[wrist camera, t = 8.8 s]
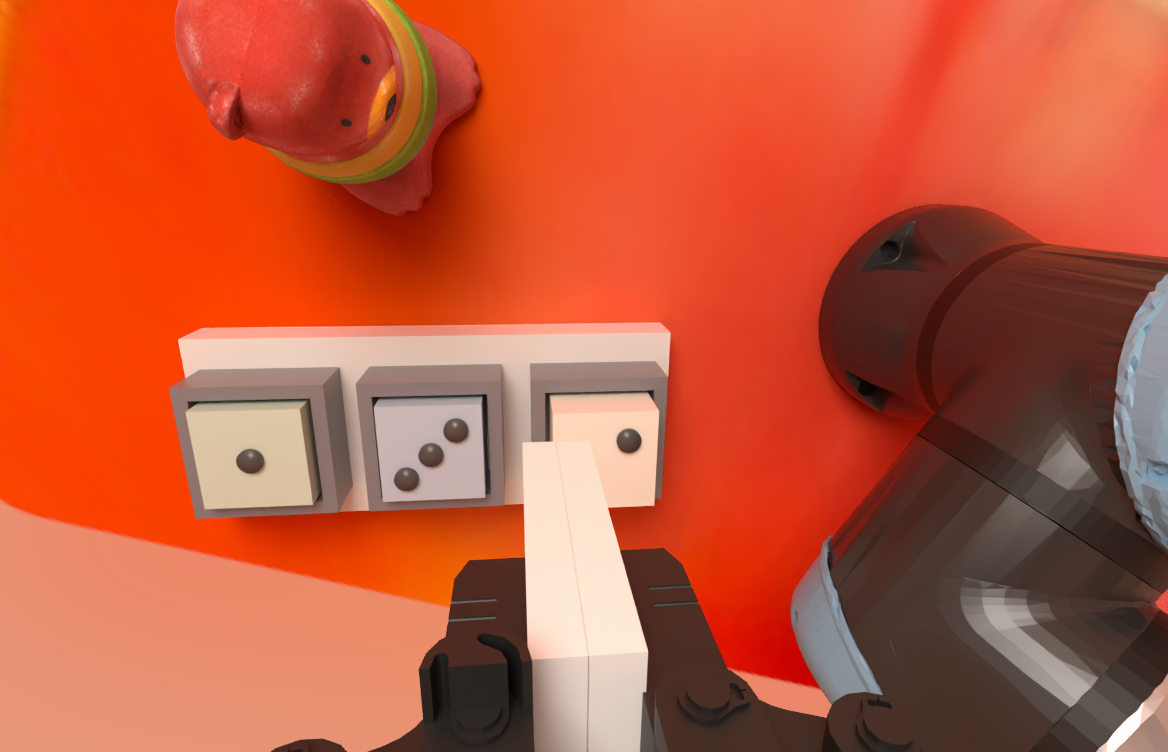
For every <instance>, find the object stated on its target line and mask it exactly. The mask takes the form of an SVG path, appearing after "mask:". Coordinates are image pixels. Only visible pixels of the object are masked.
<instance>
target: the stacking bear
mask: <svg viewBox="0 0 1168 752" xmlns="http://www.w3.org/2000/svg"><path fill="white" fill-rule="evenodd" d="M175 40H176V47H177V52H178V56H179V60H180V62H181V65H182V68H183V70H184V72H185V75H186V77H187V79H188V81H189V83H190V84H191V86H192V88H193V90H194V92H195V93H196V94H197V96H198V97H199V99H200V100H201V101H202V103H203V104H204V105H205V107H206V108H207V109H208V116H209V119H210V121H211V123H212V125H213V126H214V127H215V128H216V129H217V130H218V131H219V132H220V133H221V134H222V135H223V136H225V137H226V138H228V139H231V140H237V139H239V138H241V137H244V138H246V139H248V140H250V141H253V142H255V143H258V144H260V145H262V146H263V147H264V148H266V149H267V150H268V151H269V152H271V153H272V154H273V155H274V156H276V157H277V158H278V159H280V160H281V161H283V162H284V163H286V164H287V165H289V166H290V167H292V168H294V169H296V170H298V171H300V172H302V173H304V174H306V175H309V176H311V177H314V178H317V179H320V180H324V181H328V182H333V183H338V184H339V185H341V186H342V187H343V188H344V189H346V190H347V191H348V192H350V193H351V194H352V195H354V196H355V197H357V198H358V199H360V200H361V201H363V202H365V203H366V204H368V205H370V206H372V207H374V208H376V209H378V210H380V211H382V212H384V213H387V214H390V215H394V216H402V215H404V214H405V213H406V212H407V211H412V212H416V211H418V210H420V209H421V207H422V206H423V201H424V199H425V198H427V197H428V196H430V194H431V191H432V187H433V181H432V171H431V161H432V154H433V149H434V146H435V143H436V141H437V139H438V137H439V136H440V134H441V133H442V131H443V130H444V129H445V127H446V126H447V125H448V124H450V123H451V122H452V121H453V120H455V119H457V118H458V117H460V116H462V115H464V114H465V113H467V112H468V111H469V110H470V109H471V108H472V107H473V106H474V104H475V102H476V93H477V92H478V91H479V90H480V88H481V79H480V77H479V75H478V74H477V73H476V69H477V65H476V62H475V60H474V58H473V57H472V55H471V54H470V53H469V52H468V51H467V50H466V49H465V48H464V47H462V46H461V45H460V44H458V43H457V42H456V41H454V40H453V39H451V38H450V37H448V36H446V35H445V34H443V33H441V32H440V31H438V30H436V29H434V28H432V27H430V26H428V25H425V24H423V23H421V22H418V21H415V20H413V19H410V18H409V17H408V16H407V15H406V13H405V12H404V11H403V10H402V9H401V8H400V7H399V6H398V5H397V4H396V3H395V2H393V1H392V0H179V3H178V6H177V9H176V14H175Z"/></svg>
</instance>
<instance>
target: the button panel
mask: <svg viewBox="0 0 1168 752" xmlns="http://www.w3.org/2000/svg"><path fill="white" fill-rule="evenodd" d="M670 335H671V333H670V332H669V331H668V330H667V329H666V328H665V327H664V326H663V325H662V324H661V323H660V322H652V323H569V324H486V325H403V326H320V327H238V328H201V329H199V330H197V331H195V332H193V333H191V334H188V335H186V336H184V337H182V338H180V339H178V342H179V347H180V352H181V357H182V362H183V368H184V373H185V379H183V380H182V381H180V382H178V383H177V384H175V385H173V386H172V387H170V388H169V391H170V396H171V401H172V406H173V410H174V415H175V420H176V425H177V430H178V435H179V440H180V445H181V450H182V454H183V459H184V464H185V469H186V474H187V479H188V484H189V489H190V494H191V499H192V503H193V508H194V513H195V518H196V519H203V518H226V517H250V516H273V515H296V514H320V513H339V512H343V511H367V510H369V511H390V510H414V509H437V508H461V507H484V506H504V505H508V504H524V491H523V446H522V443H527V442H549V393H560V392H602V391H644V390H647V392H648V394H649V395H650V397H651V399H652V400H653V402H654V403H655V405H656V407H657V408H658V410H659V425H658V444H657V463H656V482H655V499H661V496H662V478H663V460H664V442H665V424H666V407H667V389H668V370H669V352H670ZM476 394H485V404H486V430H487V455H488V474H487V484H486V495H485V498H467V499H443V500H419V501H394V502H383V497H382V486H381V476H380V466H379V456H378V446H377V436H376V425H375V415H374V406H375V404H376V403H377V401H378V400H379V398H380V397H392V396H434V395H476ZM308 398H310V403H311V411H312V419H313V426H314V434H315V441H316V449H317V457H318V464H319V472H320V480H321V487H322V491H321V493H320V494H319V496H318V498H317V499H316V501H315V502H314V504H313V505H298V506H273V507H249V508H225V509H205V508H204V503H203V498H202V493H201V488H200V483H199V478H198V473H197V468H196V463H195V458H194V453H193V448H192V443H191V438H190V433H189V428H188V423H187V418H186V411H188V410H189V409H190V408H192V407H193V406H195V405H196V404H198V403H199V402H200V401H224V400H266V399H308Z"/></svg>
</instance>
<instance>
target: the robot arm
mask: <svg viewBox="0 0 1168 752" xmlns="http://www.w3.org/2000/svg"><path fill="white" fill-rule="evenodd" d="M819 336H820V344H821V349H822V353H823V356H824V360H825V362H826V365H827V367H828V369H829V371H830V372H831V374H832V376H833V377H834V379H835V380H836V381H837V383H838V384H839V385H840V386H841V387H842V388H843V389H844V390H845V391H846V392H847V393H848V394H850V395H851V396H852V397H854V398H855V399H857V400H858V401H860V402H861V403H863V404H864V405H866V406H868V407H869V408H871V409H873V410H874V411H876V412H879V413H881V414H883V415H886V416H889V417H892V418H896V419H900V420H907V421H916V422H924V423H927V424H926V425H925V426H924V427H923V428H922V430H921V431H920V432H919V433H918V434H917V435H916V436H915V438H914V439H913V440H912V441H911V443H910V444H909V445H908V446H907V447H906V449H905V450H904V451H903V452H902V453H901V455H900V456H899V457H898V458H897V460H896V461H895V462H894V463H893V464H892V466H891V467H890V468H889V469H888V471H887V472H886V473H885V474H884V475H883V477H882V478H881V479H880V480H879V482H878V483H877V484H876V485H875V486H874V488H873V489H872V490H871V491H870V493H869V494H868V495H867V496H866V497H865V499H864V500H863V501H862V502H861V503H860V505H859V506H858V507H857V508H856V510H855V511H854V512H853V513H852V514H851V516H850V517H849V518H848V519H847V521H846V522H845V523H844V524H843V525H842V527H841V528H840V529H839V530H838V532H837V533H836V534H835V535H830V536H829V537H828V538H827V539H826V540H825V541H824V543H823V545H822V547H821V553H820V554H819V556H818V557H817V558H816V560H815V561H814V562H813V564H812V565H811V567H810V568H809V569H808V571H807V572H806V574H805V575H804V576H803V578H802V579H801V580H800V582H799V583H798V585H797V586H796V588H795V590H794V593H793V595H792V600H791V605H790V615H791V622H792V626H793V629H794V632H795V637H796V641H797V644H798V647H799V649H800V651H801V653H802V656H803V658H804V660H805V662H806V664H807V666H808V668H809V670H810V671H811V673H812V675H813V677H814V678H815V680H816V682H817V683H818V685H819V686H820V688H821V690H822V691H823V693H824V694H825V696H826V697H827V698H828V700H829V702H830V703H831V704H832V706H831V709H830V711H829V713H828V715H827V718H824V717H819V716H814V715H809V714H804V713H799V712H794V711H789V710H785V709H781V708H778V707H774V706H771V705H769V704H767V703H765V702H763V701H761V700H759V699H758V697H757V696H756V694H755V693H754V692H753V691H752V689H751V688H750V686H749V685H748V684H747V682H746V681H744V680H743V679H742V678H740V677H739V676H738V675H736V674H735V673H733V672H732V671H730V670H728V669H727V667H726V665H725V662H724V660H723V658H722V655H721V653H720V651H719V648H718V646H717V644H716V642H715V639H714V637H713V635H712V632H711V630H710V628H709V625H708V623H707V621H706V618H705V616H704V614H703V611H702V609H701V607H700V605H698V600H697V598H696V595H695V593H694V591H693V588H691V584H690V581H689V579H688V577H687V574H686V572H685V570H684V568H683V565H682V564H681V563H680V562H679V561H678V560H677V559H675V558H674V557H673V556H672V555H671V554H670V553H669V552H668V551H666V550H665V549H664V548H659V549H640V550H621V551H620V549H619V546H618V542H617V539H616V535H615V532H614V528H613V524H612V521H611V517H610V514H609V510H608V507H607V503H606V499H605V496H604V492H603V489H602V485H601V482H600V478H599V475H598V471H597V467H596V464H595V460H594V457H593V453H592V450H591V446H590V442H589V440H586V441H556V442H527V443H522V446H523V491H524V535H525V558H507V559H488V560H469V561H468V563H467V564H466V565H465V566H464V568H463V569H462V570H461V572H460V573H459V574H458V575H457V577H456V578H455V579H454V586H453V593H452V599H451V606H450V612H449V623H448V625H447V632H446V637H445V638H443V639H441V640H439V641H438V642H437V644H435V645H434V646H433V647H432V648H431V649H430V650H429V651H428V652H427V653H426V655H425V657H424V659H423V661H422V664H421V666H420V668H419V675H420V688H421V699H422V710H423V720H422V721H421V722H420V723H419V724H418V725H417V726H416V727H415V728H414V729H413V730H411V731H410V732H408V733H407V734H405V735H404V736H403V737H401V738H400V739H398V740H395V741H393V742H391V743H389V744H387V745H385V746H382V747H380V748H377V749H374V750H371V751H369V752H1168V614H1166V613H1165V612H1163V611H1162V610H1160V609H1159V608H1158V607H1157V605H1156V603H1155V602H1156V601H1157V600H1158V599H1159V597H1160V596H1161V594H1163V593H1164V592H1165V591H1166V590H1167V589H1168V258H1167V257H1158V256H1150V255H1141V254H1132V253H1123V252H1114V251H1105V250H1096V249H1087V248H1079V247H1070V246H1061V245H1051V244H1045V243H1043V242H1041V241H1040V240H1038V239H1037V238H1035V237H1034V236H1032V235H1030V234H1029V233H1027V232H1026V231H1024V230H1022V229H1021V228H1019V227H1018V226H1016V225H1014V224H1013V223H1011V222H1010V221H1008V220H1006V219H1005V218H1003V217H1001V216H999V215H997V214H995V213H992V212H990V211H987V210H983V209H980V208H976V207H970V206H959V205H943V204H935V205H924V206H919V207H914V208H911V209H907V210H905V211H902V212H899V213H897V214H895V215H892V216H891V217H889V218H887V219H885V220H883V221H882V222H880V223H878V224H877V225H876V226H874V227H873V228H871V229H870V230H869V231H868V232H866V233H865V234H864V235H863V236H862V237H861V238H860V239H859V240H857V242H856V243H855V244H854V245H853V246H852V247H851V248H850V249H849V250H848V252H847V253H846V254H845V256H844V257H843V258H842V260H841V261H840V263H839V264H838V266H837V267H836V269H835V271H834V273H833V275H832V277H831V279H830V281H829V283H828V286H827V289H826V291H825V294H824V298H823V302H822V306H821V312H820V320H819ZM1156 590H1157V591H1156ZM1159 592H1160V593H1161V594H1160V593H1159ZM271 752H347V751H345V749H344V748H343V747H342V746H341V745H339V744H337V743H334V742H331V741H328V740H325V739H307V740H299V741H295V742H293V743H290V744H287V745H284V746H281V747H278V748H276V749H274V750H273V751H271Z"/></svg>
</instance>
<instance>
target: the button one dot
mask: <svg viewBox="0 0 1168 752" xmlns="http://www.w3.org/2000/svg"><path fill="white" fill-rule="evenodd" d="M186 418H187V423H188V428H189V433H190V438H191V443H192V448H193V453H194V458H195V463H196V468H197V473H198V478H199V483H200V488H201V493H202V498H203V503H204V508H205V509H225V508H249V507H273V506H298V505H313V504H314V502H315V501H316V499H317V498H318V496H319V494H320V493H321V491H322V487H321V480H320V472H319V464H318V457H317V449H316V441H315V434H314V426H313V419H312V411H311V403H310V398H308V399H266V400H224V401H200V402H199V403H198V404H196V405H195V406H193V407H192V408H190V409H189V410H188V411H186Z"/></svg>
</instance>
